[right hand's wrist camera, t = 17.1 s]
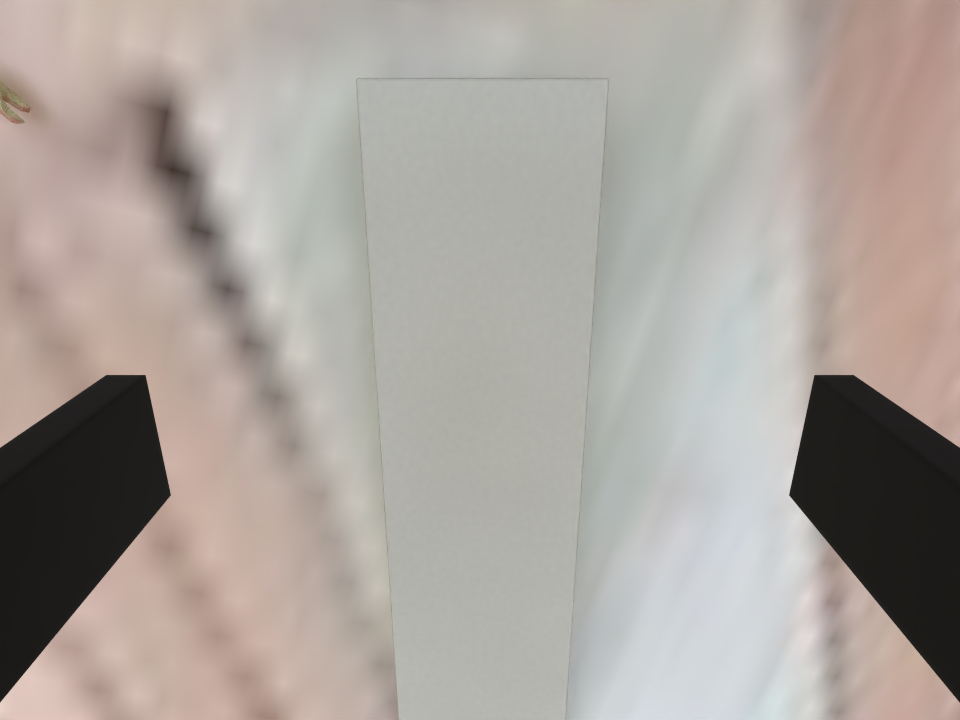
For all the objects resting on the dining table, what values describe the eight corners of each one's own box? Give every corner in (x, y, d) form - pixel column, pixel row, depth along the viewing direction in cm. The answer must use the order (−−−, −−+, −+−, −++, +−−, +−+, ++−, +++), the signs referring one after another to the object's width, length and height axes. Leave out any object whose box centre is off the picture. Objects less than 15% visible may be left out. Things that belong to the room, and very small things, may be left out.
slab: (380, 86, 32) (355, 78, 25) (583, 86, 32) (609, 77, 25) (426, 934, 58) (419, 1035, 51) (537, 934, 58) (544, 1035, 51)
